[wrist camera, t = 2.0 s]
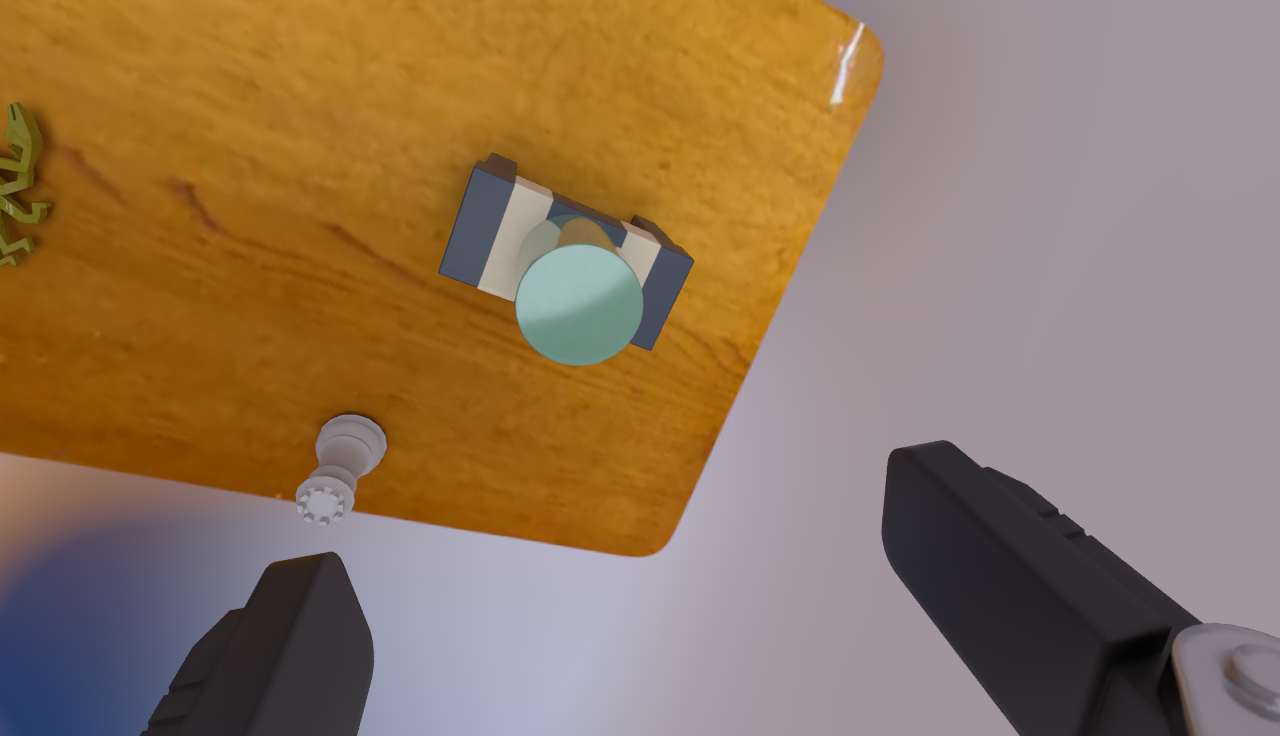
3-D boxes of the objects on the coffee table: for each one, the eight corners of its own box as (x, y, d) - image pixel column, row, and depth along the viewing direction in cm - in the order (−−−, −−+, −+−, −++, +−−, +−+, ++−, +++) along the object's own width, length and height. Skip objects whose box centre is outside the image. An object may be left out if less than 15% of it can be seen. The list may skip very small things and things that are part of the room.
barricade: (456, 235, 39) (437, 274, 31) (485, 148, 37) (474, 165, 29) (627, 302, 42) (651, 352, 34) (661, 225, 41) (695, 259, 32)
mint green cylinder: (502, 295, 32) (496, 342, 26) (539, 196, 30) (542, 222, 24) (598, 330, 33) (613, 382, 27) (639, 238, 32) (664, 272, 26)
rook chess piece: (384, 469, 45) (357, 542, 37) (317, 460, 43) (276, 534, 36) (392, 416, 43) (365, 482, 36) (323, 406, 42) (281, 471, 35)
